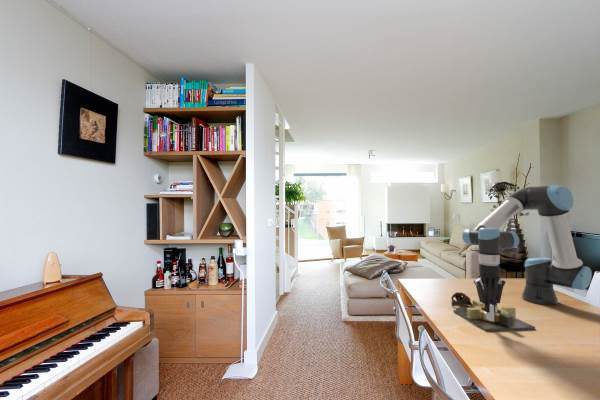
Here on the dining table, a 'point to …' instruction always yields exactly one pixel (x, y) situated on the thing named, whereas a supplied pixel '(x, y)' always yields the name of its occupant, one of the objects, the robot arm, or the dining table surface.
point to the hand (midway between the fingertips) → (490, 319)
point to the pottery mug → (461, 300)
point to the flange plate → (495, 323)
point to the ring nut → (502, 316)
